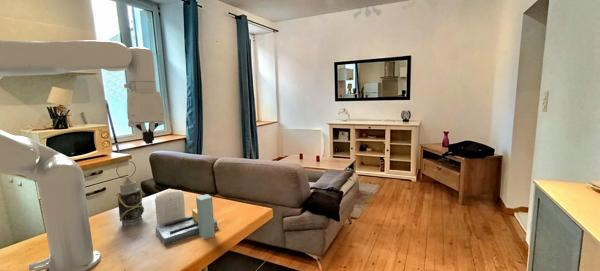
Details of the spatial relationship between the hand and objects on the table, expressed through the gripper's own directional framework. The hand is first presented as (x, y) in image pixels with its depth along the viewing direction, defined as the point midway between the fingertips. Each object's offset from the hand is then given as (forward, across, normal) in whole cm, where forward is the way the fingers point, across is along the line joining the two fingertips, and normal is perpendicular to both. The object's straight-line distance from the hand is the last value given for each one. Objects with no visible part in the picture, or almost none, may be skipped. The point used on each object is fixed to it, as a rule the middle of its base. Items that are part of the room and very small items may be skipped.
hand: (148, 143), depth 92 cm
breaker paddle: (+30, +14, -2) cm, 33 cm away
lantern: (+33, -5, +18) cm, 38 cm away
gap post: (+33, +13, -11) cm, 37 cm away
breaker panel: (+33, +9, -2) cm, 34 cm away
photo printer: (+33, +7, +10) cm, 35 cm away
